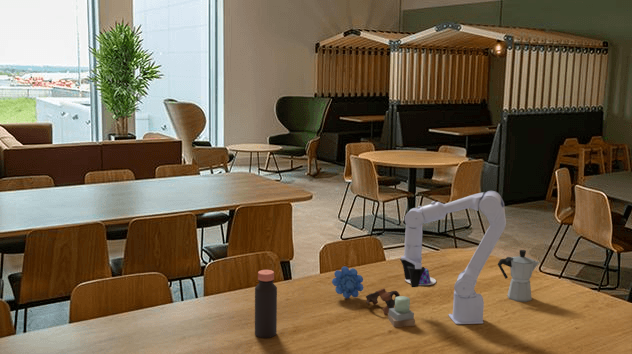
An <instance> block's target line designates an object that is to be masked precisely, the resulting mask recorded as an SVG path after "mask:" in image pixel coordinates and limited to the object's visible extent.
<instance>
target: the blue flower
mask: <svg viewBox="0 0 632 354" xmlns="http://www.w3.org/2000/svg"><path fill="white" fill-rule="evenodd" d="M363 281H364V278H363V276H362V275H360V274H358V270H357V269H356V268H353V267H352V268H350V269H349V267H348V266H342V267H341V269H340V270H338V269H336V270H335V271H334V278H332V280H331V282H332V285H333V286H334V287H335V292H336V294H337V295H342V297H344V299H350V298H351V297H352V298H357V297H359V294H360V293H359V292H363V290H364V285H363V284H362V283H363Z"/></svg>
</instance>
